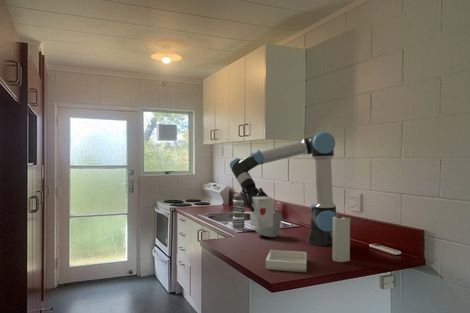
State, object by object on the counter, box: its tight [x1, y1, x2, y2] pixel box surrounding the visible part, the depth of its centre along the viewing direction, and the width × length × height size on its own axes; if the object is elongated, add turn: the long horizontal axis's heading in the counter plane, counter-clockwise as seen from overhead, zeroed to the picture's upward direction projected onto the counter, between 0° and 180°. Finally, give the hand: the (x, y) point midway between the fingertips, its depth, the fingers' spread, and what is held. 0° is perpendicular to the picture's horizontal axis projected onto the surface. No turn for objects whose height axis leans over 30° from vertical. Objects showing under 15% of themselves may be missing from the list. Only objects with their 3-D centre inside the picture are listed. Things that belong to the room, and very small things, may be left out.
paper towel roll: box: [331, 216, 351, 263], centre depth 166 cm, size 7×6×21 cm
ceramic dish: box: [265, 249, 308, 273], centre depth 159 cm, size 18×18×4 cm
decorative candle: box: [231, 192, 246, 231], centre depth 237 cm, size 9×9×25 cm
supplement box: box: [249, 195, 274, 228], centre depth 175 cm, size 9×9×15 cm
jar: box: [254, 197, 283, 238], centre depth 215 cm, size 19×15×25 cm
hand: (265, 215), depth 173 cm, fingers closed on supplement box, 10 cm apart
